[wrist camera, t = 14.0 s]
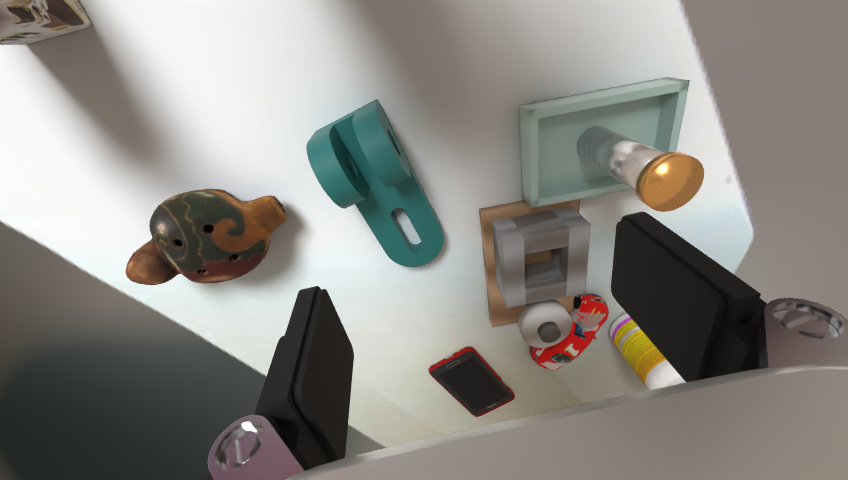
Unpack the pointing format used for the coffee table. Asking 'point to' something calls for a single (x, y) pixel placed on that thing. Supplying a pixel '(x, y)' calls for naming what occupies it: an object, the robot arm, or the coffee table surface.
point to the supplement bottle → (643, 354)
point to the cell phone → (472, 382)
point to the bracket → (375, 182)
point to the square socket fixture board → (535, 267)
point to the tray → (570, 116)
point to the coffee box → (39, 20)
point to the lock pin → (643, 168)
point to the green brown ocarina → (206, 237)
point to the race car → (574, 333)
